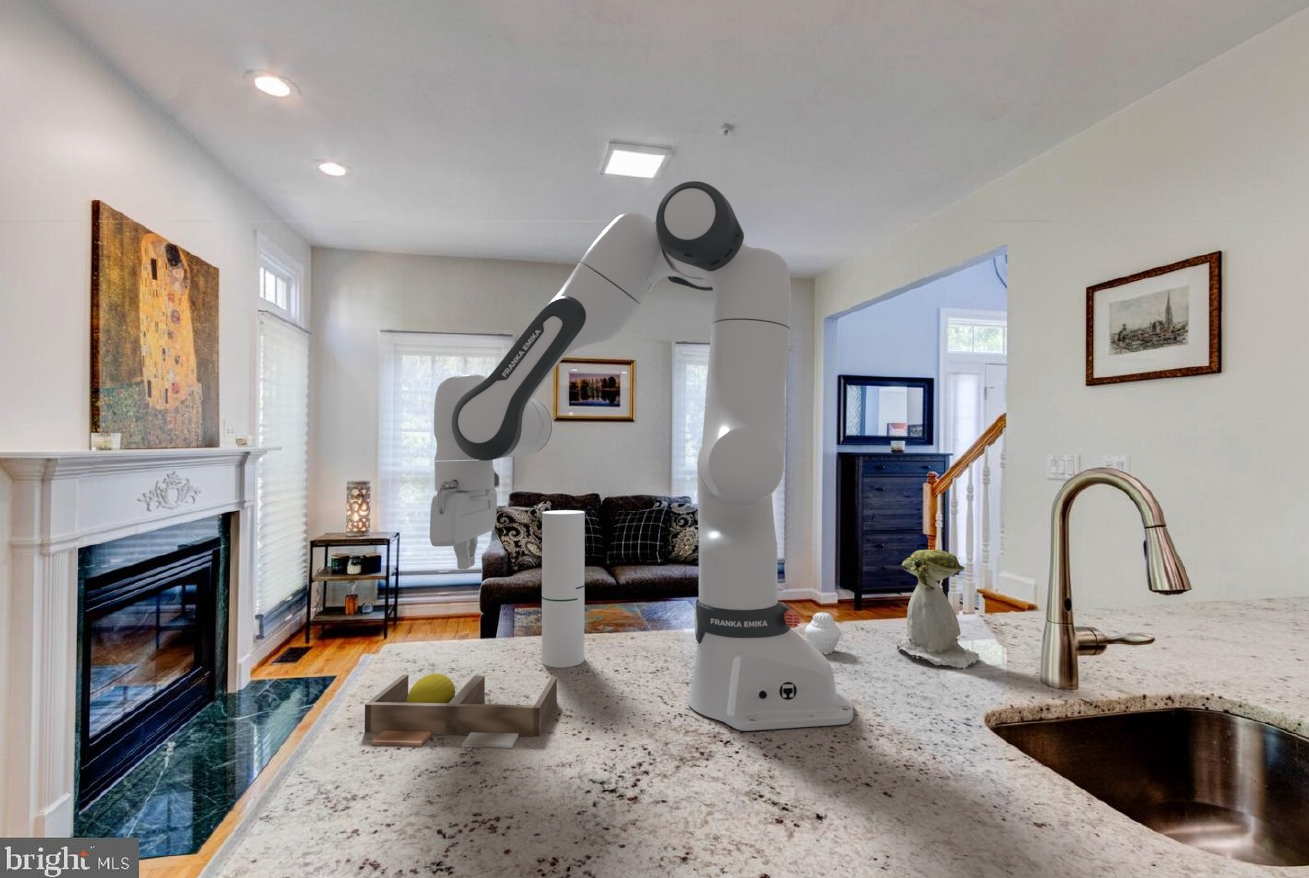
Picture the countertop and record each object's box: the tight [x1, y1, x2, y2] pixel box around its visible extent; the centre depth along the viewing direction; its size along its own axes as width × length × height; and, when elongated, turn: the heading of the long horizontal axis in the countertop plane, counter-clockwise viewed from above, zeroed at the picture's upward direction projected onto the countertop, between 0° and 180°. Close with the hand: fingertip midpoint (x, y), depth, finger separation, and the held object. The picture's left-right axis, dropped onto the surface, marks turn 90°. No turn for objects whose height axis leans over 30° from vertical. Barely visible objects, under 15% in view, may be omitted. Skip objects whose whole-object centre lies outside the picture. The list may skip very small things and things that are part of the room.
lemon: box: [406, 672, 456, 704], centre depth 84 cm, size 6×6×8 cm
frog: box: [896, 549, 980, 669], centre depth 110 cm, size 12×13×18 cm
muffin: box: [804, 611, 842, 654], centre depth 112 cm, size 6×6×7 cm
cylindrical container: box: [541, 509, 586, 668], centre depth 108 cm, size 7×7×25 cm
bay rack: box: [364, 674, 558, 749], centre depth 83 cm, size 22×14×4 cm, turn 87°
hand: (466, 567), depth 99 cm, fingers closed
